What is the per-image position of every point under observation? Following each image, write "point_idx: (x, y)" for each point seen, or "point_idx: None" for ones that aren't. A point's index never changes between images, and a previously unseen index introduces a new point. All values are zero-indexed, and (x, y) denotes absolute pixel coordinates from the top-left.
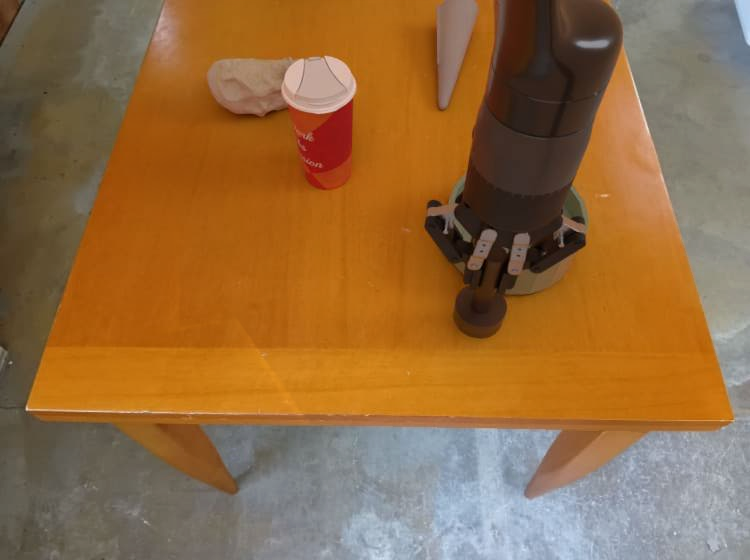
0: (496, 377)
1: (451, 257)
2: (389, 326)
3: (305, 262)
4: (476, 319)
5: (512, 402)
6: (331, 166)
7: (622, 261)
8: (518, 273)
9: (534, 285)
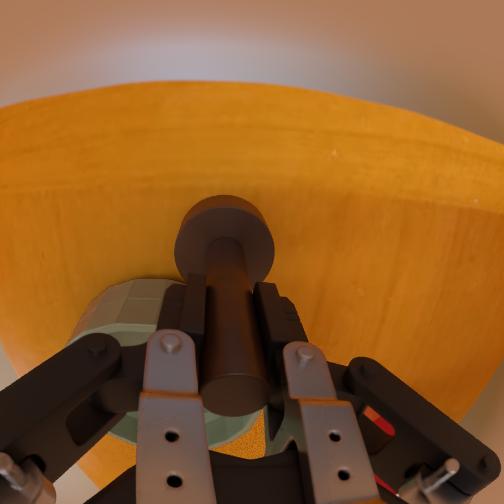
0: (196, 138)
1: (379, 376)
2: (350, 229)
3: (419, 313)
4: (237, 224)
5: (176, 97)
6: (380, 421)
7: (32, 317)
8: (157, 335)
9: (126, 292)
